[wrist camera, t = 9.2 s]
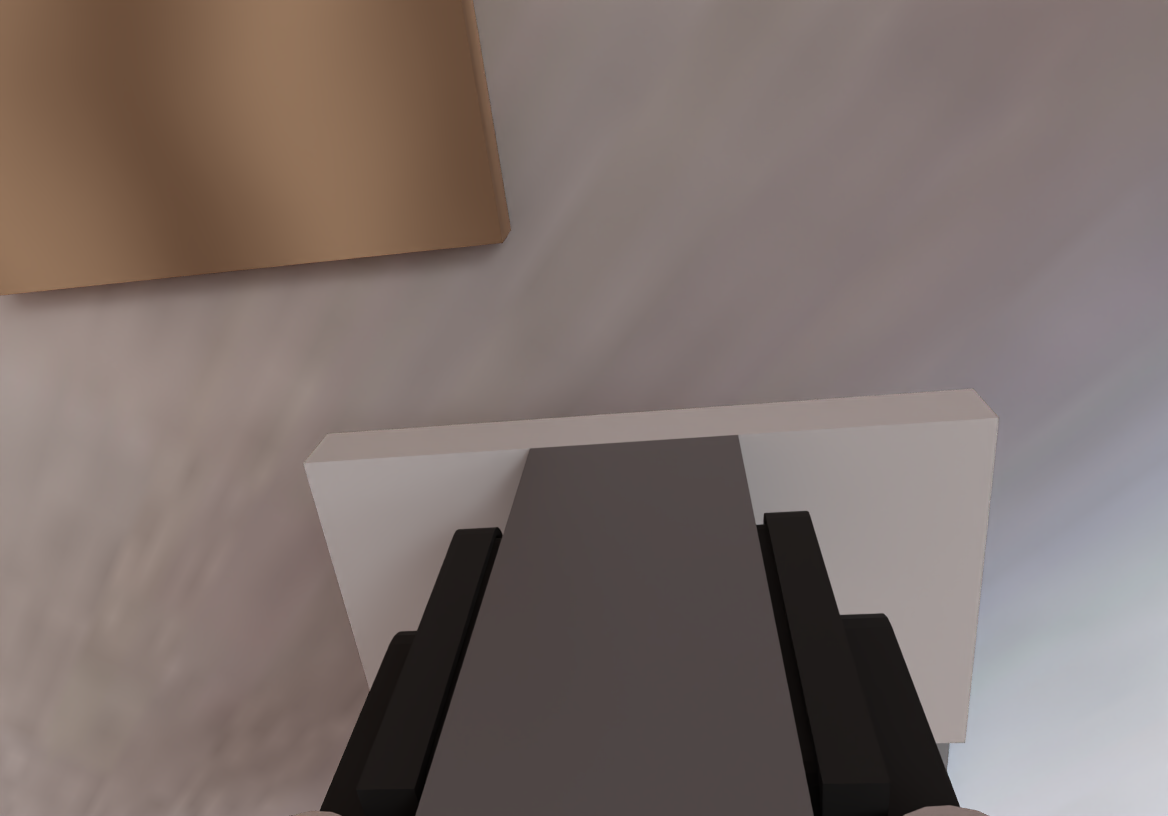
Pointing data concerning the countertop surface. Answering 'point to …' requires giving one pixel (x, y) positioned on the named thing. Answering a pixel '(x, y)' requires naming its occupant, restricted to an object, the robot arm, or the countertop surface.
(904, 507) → the white base with post
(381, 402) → the countertop surface
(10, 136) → the board
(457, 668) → the robot arm
